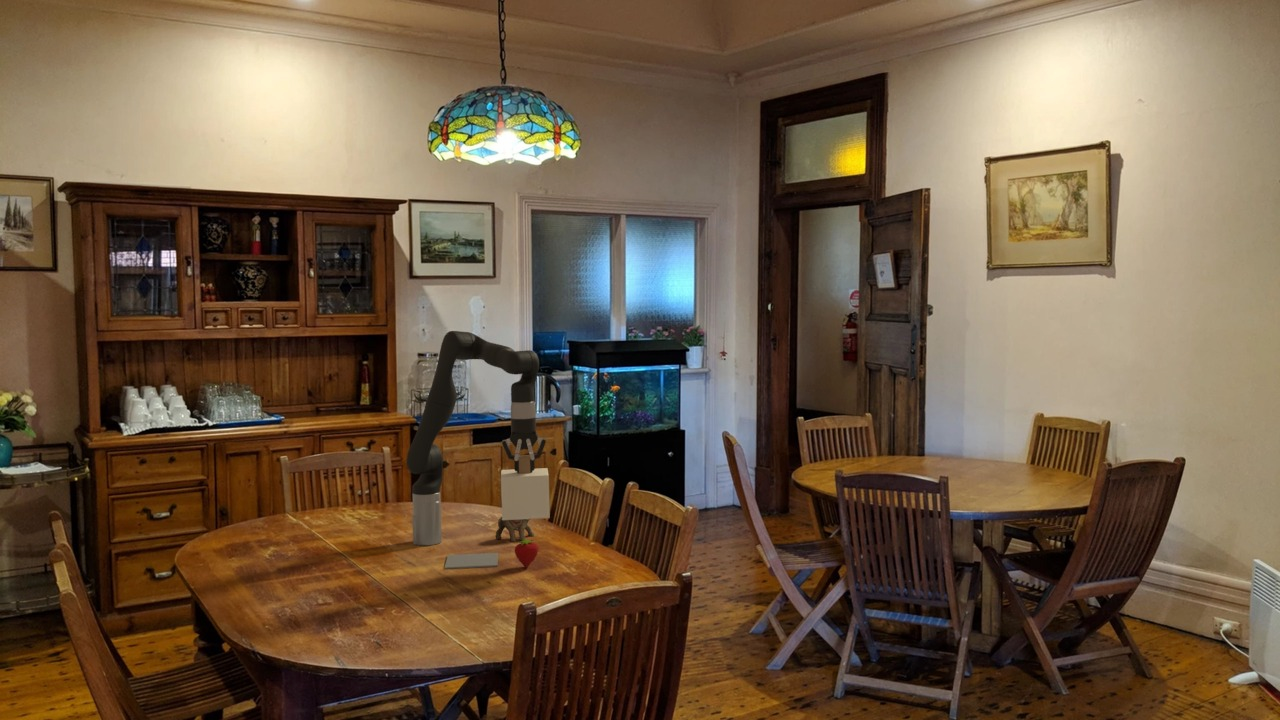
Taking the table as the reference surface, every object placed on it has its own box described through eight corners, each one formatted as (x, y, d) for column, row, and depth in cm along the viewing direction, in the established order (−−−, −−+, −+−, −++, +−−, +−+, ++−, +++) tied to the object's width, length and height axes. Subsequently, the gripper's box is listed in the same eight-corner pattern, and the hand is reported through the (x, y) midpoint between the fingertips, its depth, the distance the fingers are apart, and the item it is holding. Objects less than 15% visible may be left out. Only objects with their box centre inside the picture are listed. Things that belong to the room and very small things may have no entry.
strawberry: (541, 568, 290) (541, 535, 289) (517, 571, 287) (517, 538, 286) (535, 563, 296) (535, 531, 295) (512, 566, 292) (511, 534, 292)
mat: (444, 569, 290) (444, 567, 290) (447, 556, 304) (447, 555, 304) (497, 566, 292) (497, 564, 292) (498, 554, 306) (498, 552, 306)
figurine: (533, 551, 321) (542, 510, 319) (492, 542, 321) (501, 500, 319) (537, 542, 331) (546, 502, 328) (497, 533, 331) (506, 492, 328)
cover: (502, 520, 283) (500, 460, 282) (502, 511, 295) (501, 454, 294) (549, 518, 285) (548, 458, 284) (548, 509, 297) (546, 452, 296)
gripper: (499, 418, 284) (501, 475, 285) (547, 417, 285) (548, 473, 287) (500, 415, 291) (501, 471, 292) (546, 414, 293) (547, 469, 294)
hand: (524, 472), depth 289 cm, fingers closed on cover, 3 cm apart
